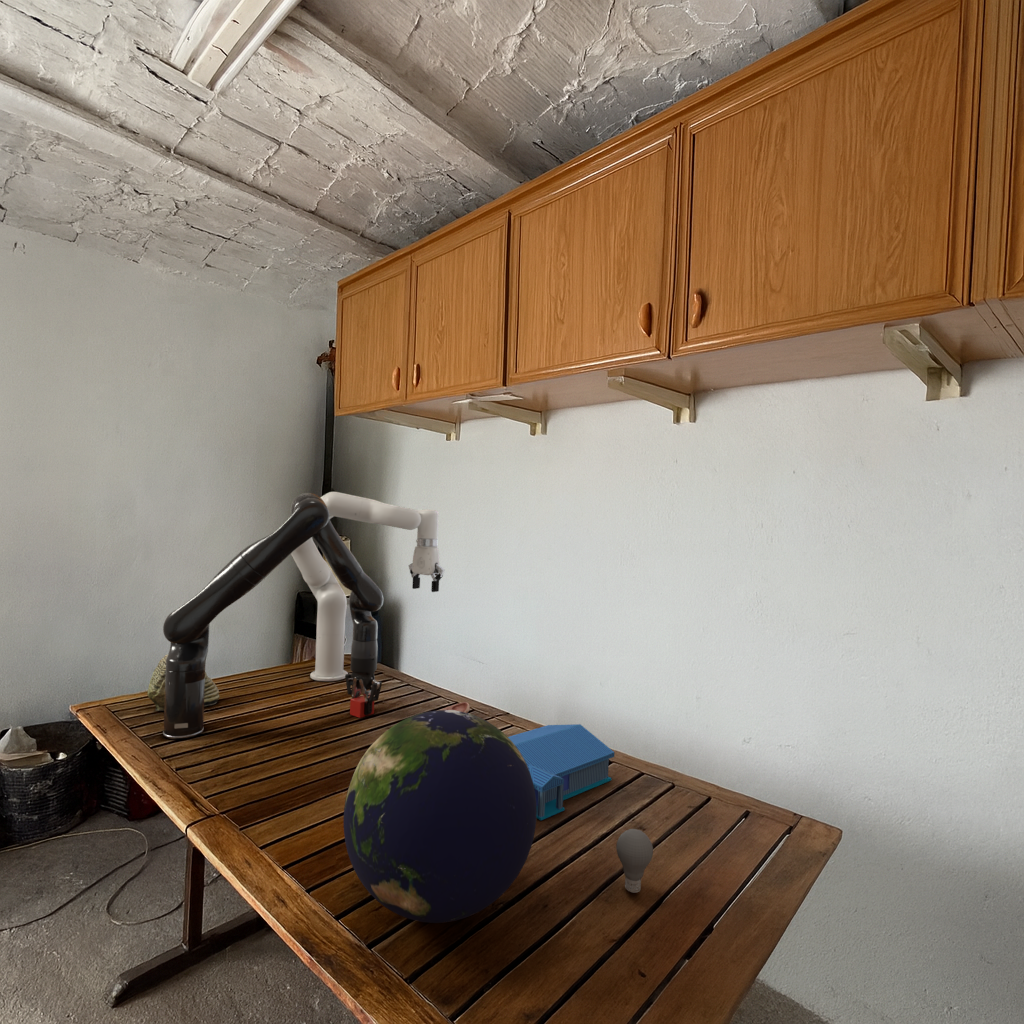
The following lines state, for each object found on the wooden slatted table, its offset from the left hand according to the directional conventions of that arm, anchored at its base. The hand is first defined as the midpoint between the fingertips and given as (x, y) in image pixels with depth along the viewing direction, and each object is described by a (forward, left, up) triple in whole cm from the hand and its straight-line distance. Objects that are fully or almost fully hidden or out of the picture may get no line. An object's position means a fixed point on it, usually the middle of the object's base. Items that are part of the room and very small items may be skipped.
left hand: (361, 712), depth 185 cm
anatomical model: (+18, +17, -1) cm, 25 cm away
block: (0, 0, -1) cm, 1 cm away
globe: (+84, -35, -1) cm, 91 cm away
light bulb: (+102, -8, -1) cm, 102 cm away
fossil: (-36, -38, -1) cm, 52 cm away
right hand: (-27, +40, +30) cm, 57 cm away
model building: (+64, +4, -1) cm, 64 cm away
